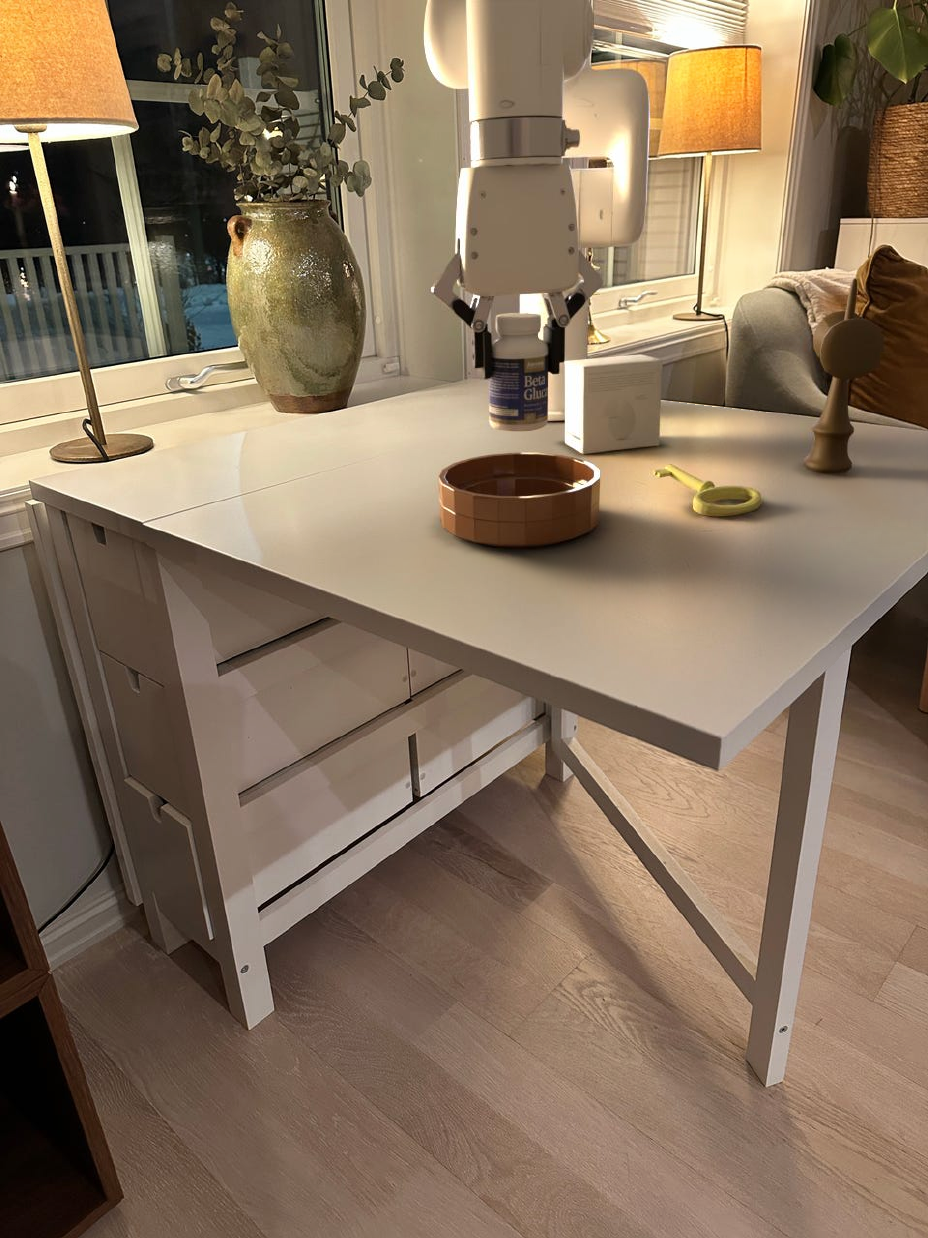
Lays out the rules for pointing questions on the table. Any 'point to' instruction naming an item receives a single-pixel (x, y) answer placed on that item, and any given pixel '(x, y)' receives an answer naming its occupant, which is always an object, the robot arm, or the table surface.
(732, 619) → the table surface
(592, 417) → the cosmetics box
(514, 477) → the bowl
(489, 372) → the robot arm
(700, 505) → the key
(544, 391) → the pill bottle
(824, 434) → the kendama
